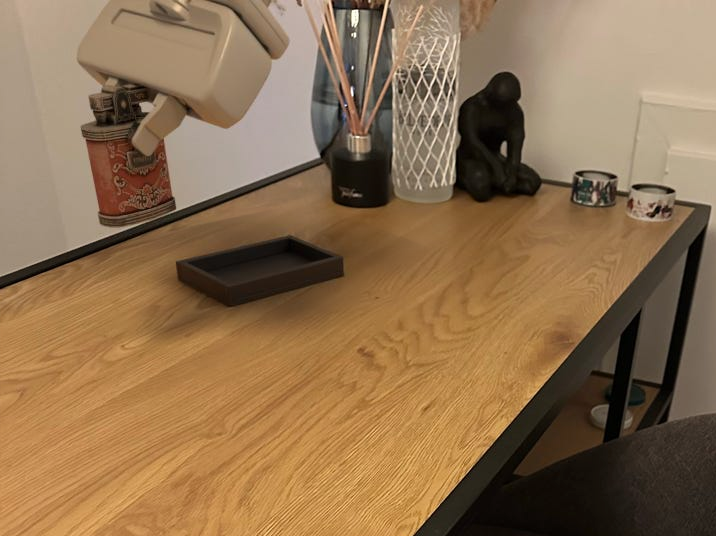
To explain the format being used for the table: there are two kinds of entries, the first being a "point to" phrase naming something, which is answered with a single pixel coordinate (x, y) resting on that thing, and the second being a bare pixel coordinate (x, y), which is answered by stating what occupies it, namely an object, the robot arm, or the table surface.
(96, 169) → the lighter
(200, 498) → the table surface
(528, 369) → the table surface
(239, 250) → the dark serving tray
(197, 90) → the robot arm
